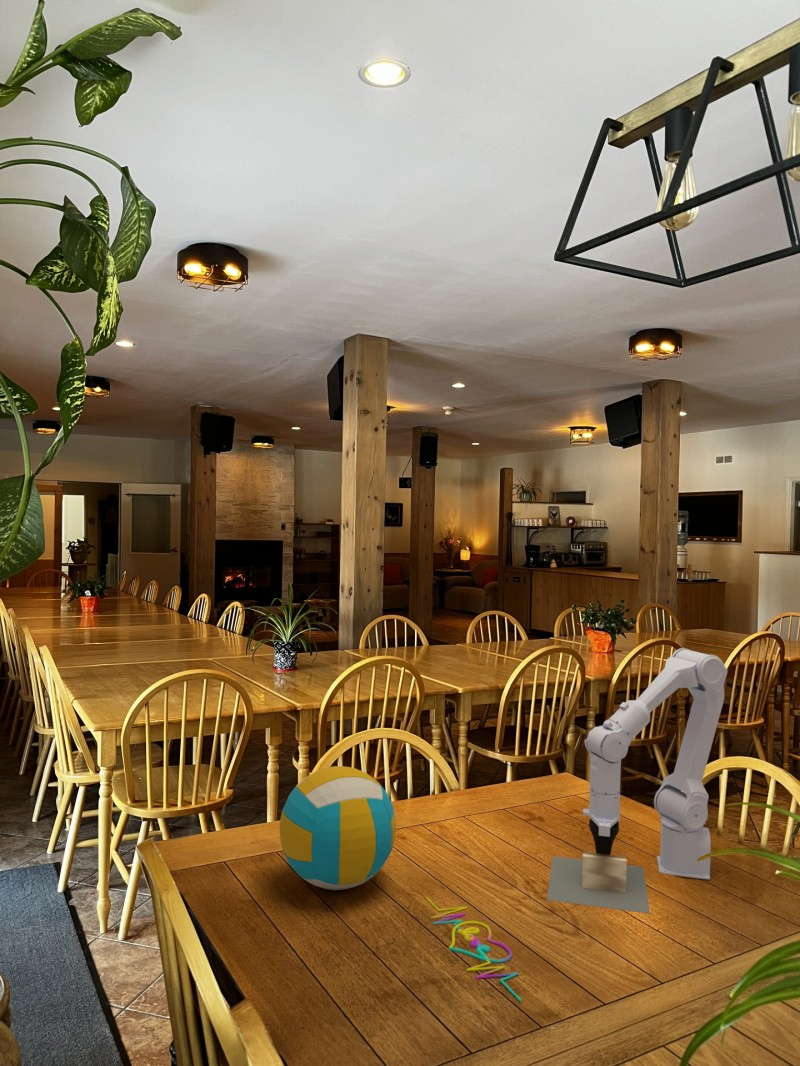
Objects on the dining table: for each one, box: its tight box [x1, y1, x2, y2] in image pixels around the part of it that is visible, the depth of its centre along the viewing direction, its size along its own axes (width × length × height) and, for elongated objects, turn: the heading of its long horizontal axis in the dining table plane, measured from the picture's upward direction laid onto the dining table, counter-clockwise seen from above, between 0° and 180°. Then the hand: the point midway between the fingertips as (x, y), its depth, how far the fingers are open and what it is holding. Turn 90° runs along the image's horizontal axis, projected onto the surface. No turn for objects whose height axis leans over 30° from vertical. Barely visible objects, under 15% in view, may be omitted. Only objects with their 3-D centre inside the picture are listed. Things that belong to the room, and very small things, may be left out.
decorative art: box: [425, 897, 522, 1002], centre depth 132 cm, size 34×1×10 cm
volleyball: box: [279, 765, 397, 891], centre depth 152 cm, size 22×22×22 cm
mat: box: [546, 855, 650, 915], centre depth 154 cm, size 18×20×1 cm
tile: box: [582, 851, 628, 893], centre depth 152 cm, size 8×2×6 cm, turn 76°
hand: (603, 859), depth 156 cm, fingers closed
